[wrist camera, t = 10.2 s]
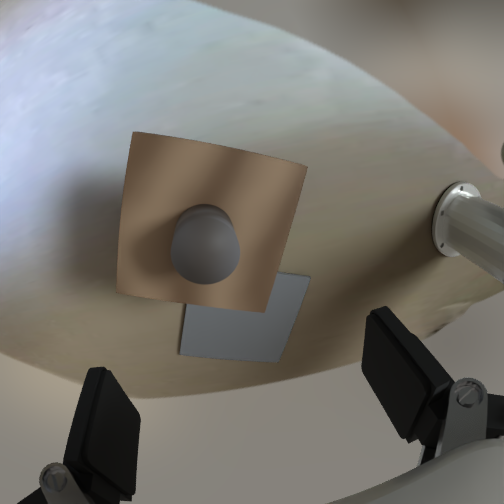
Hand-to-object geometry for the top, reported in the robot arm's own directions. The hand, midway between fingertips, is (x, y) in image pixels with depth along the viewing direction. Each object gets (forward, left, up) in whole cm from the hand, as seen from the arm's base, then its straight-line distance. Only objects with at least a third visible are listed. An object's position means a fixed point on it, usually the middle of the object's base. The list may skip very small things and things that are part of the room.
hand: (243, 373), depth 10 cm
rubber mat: (-7, +15, -25) cm, 30 cm away
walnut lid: (+1, 0, -15) cm, 15 cm away
